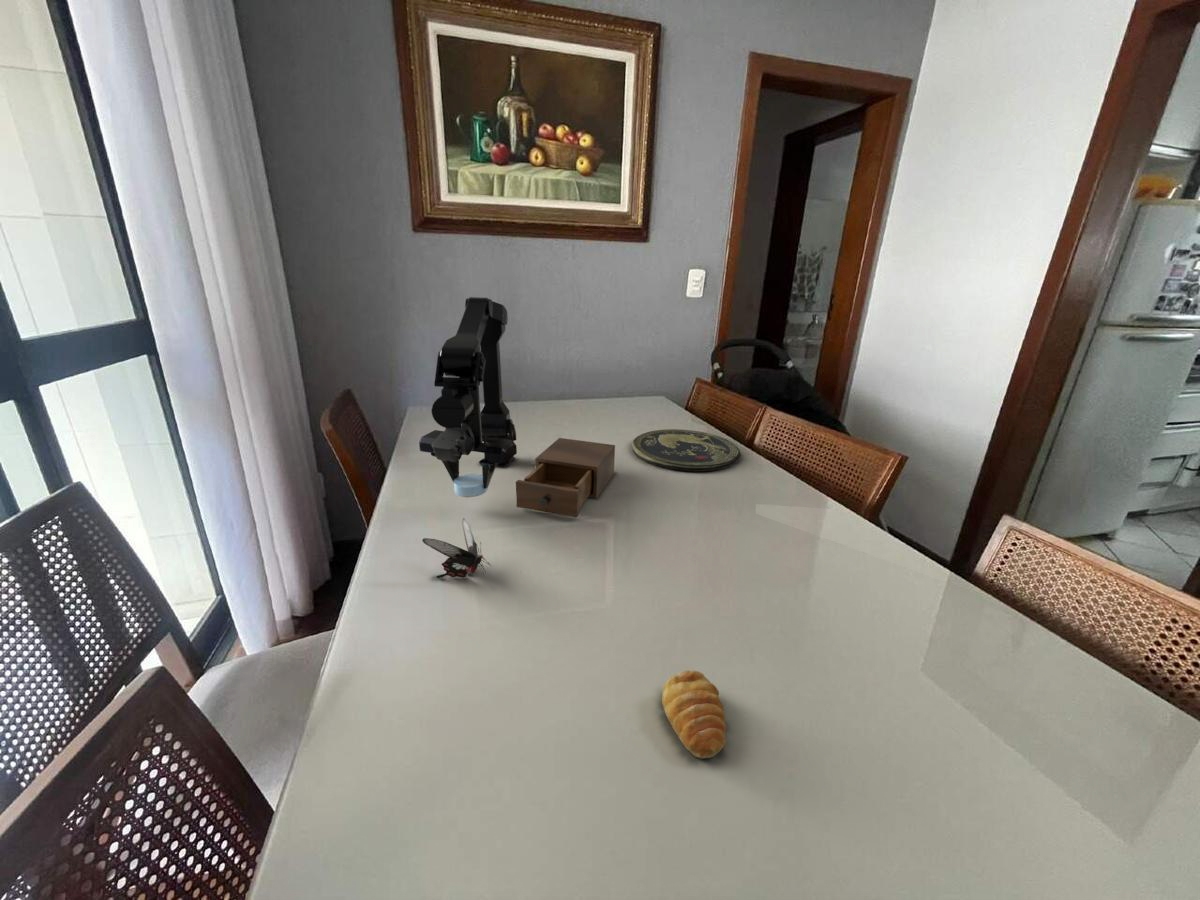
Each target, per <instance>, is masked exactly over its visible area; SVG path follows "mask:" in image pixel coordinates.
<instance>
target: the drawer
mask: <svg viewBox="0 0 1200 900" xmlns="http://www.w3.org/2000/svg"><path fill="white" fill-rule="evenodd" d="M593 483H594V470H591V469H584V468H577V467H571V466H564V465H557V464H550V463H543V462H542V463H541V464H540V465H539V466H538V467H537V468H536V467H535V468H534V469H533V470H532V471H531V472H530V473H529V474H528V475H526V476H525V477H524V480H522V479H517V480H516V481H515V493H516V494H515V497H516V508H521V509H526V510H531V511H537V512H543V513H549V514H555V515H560V516H565V517H571V518H578V517H579V516H580V508H581V507H582V506H583V504H584V503H585V502H586V500H587V498H589V497H588V496H589V495H590V493H591V492H592V491H593Z"/></svg>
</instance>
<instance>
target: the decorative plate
mask: <svg viewBox="0 0 1200 900" xmlns="http://www.w3.org/2000/svg"><path fill="white" fill-rule="evenodd" d="M631 450H632V452H633V454H634V455H635V456H636V457H638V458H639V459H641V460H643V461H645V462H646V463H649V464H651V465H654V466H657V467H662V468H665V469H669V470H677V471H684V472H713V471H718V470H720V471H721V470H723V469H727V468H730V467H732V466H735V464H736V463H737V462H739V460H740V458H741V450H740V449H739V447H738V445H736V444H735V443H733V442H732V441H730V440H729V439H727V438H725V437H722V436H719V435H716V434H713V433H708V432H705V431H700V430H699V431H698V430H692V429H691V430H690V429H681V428H679V429H677V428H672V429H670V428H669V429H668V428H667V429H655V430H650V431H646V432H644V433H641V434H639V435H638V436H636V437H635V438H634V439H633V441H632V443H631Z"/></svg>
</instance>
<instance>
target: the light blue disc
mask: <svg viewBox="0 0 1200 900" xmlns="http://www.w3.org/2000/svg"><path fill="white" fill-rule="evenodd" d="M488 490H489V486H488V487H487V488H486V489H484V486H483V474H481V473H467V474H462V475H459V477H457V478H456V479H455V480H454V483H453V492H454V494H455V495H457V496H458V497H461V498H476V497H479V496H482V495H484V494H485V493H487V491H488Z"/></svg>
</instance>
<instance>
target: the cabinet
mask: <svg viewBox="0 0 1200 900" xmlns="http://www.w3.org/2000/svg"><path fill="white" fill-rule="evenodd" d="M615 454H616V444H609V443H604V442H603V443H602V442H595V441H586V440H579V439H571V438H563V437H558V438H557V439H556V440H555V441H554V442H553V443H551V444H550V445H549V446H548V447H547V448H546V449H544V450H543V451H541V453H539V455H538V456H536V457H535V469H536V468H537V467H538V466H539V465H540V464H541V463H542V462H543V463H550V464H557V465H564V466H571V467H577V468H584V469H591V470H594V483H593V491H592V492H591V493H590V495H589V496H588V497H587V498H592V499H597V498H598V497H599V496H600V494H601V493H602V491H603V490H604V488H606V485H608V483H609V481H610V480H611V478H612V477H613V476H614V474H615V460H616V459H615V456H616V455H615Z"/></svg>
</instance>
